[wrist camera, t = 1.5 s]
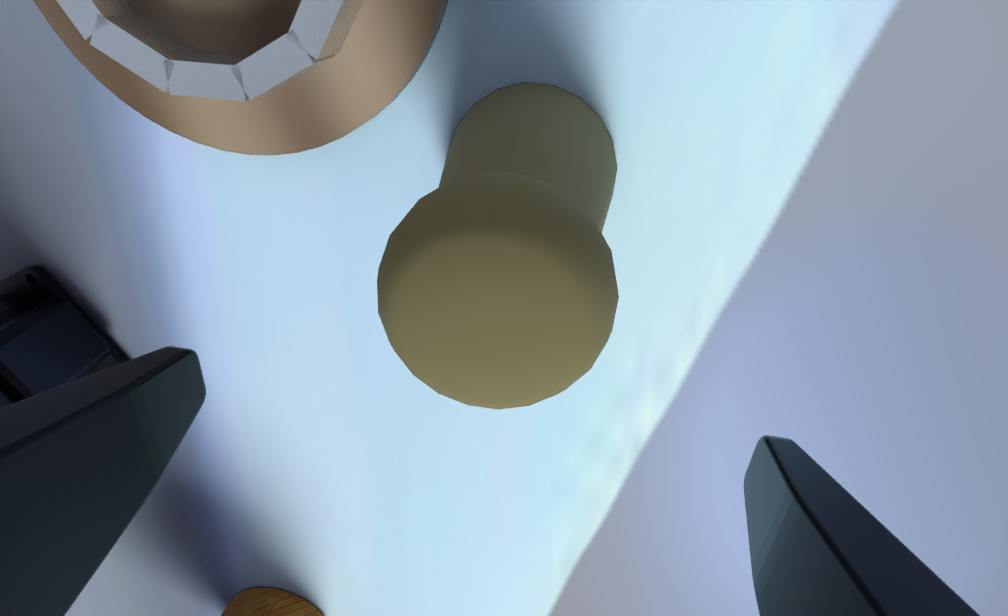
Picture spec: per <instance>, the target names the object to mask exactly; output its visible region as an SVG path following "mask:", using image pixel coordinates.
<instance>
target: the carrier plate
mask: <svg viewBox="0 0 1008 616" xmlns="http://www.w3.org/2000/svg"><path fill="white" fill-rule="evenodd" d="M34 2H35V4H36V5H37V6H38V8H39V9H40V11H41V12H42V14H43V15H44V17H45V18H46V20H47V21H48V23H49V24H50V26H51V27H52V28H53V30H54V31H55V32H56V34H57V35H58V36H59V37H60V39H61V40H62V41H63V42H64V44H65V45H66V46H67V47H68V48H69V50H70V51H71V52H72V53H73V55H74V56H75V57H76V58H77V59H78V60H79V61H80V62H81V63H82V64H83V65H84V66H85V67H86V68H87V69H88V70H89V71H90V72H91V73H92V74H93V75H94V76H95V78H96V79H97V80H98V81H100V82H101V83H102V84H103V85H104V86H105V87H107V88H108V89H109V90H110V91H111V92H112V93H114V94H115V95H116V96H117V97H118V98H120V99H121V100H122V101H123V102H125V103H126V104H128V105H129V106H130V107H132V108H133V109H135V110H136V111H137V112H139V113H140V114H142V115H143V116H145V117H146V118H148V119H149V120H151V121H153V122H155V123H157V124H158V125H160V126H162V127H164V128H166V129H167V130H169V131H171V132H173V133H175V134H178V135H180V136H182V137H185V138H187V139H189V140H192V141H194V142H196V143H200V144H203V145H206V146H210V147H213V148H217V149H220V150H224V151H230V152H236V153H242V154H249V155H280V154H289V153H297V152H301V151H305V150H309V149H313V148H316V147H320V146H323V145H325V144H327V143H330V142H332V141H334V140H337V139H339V138H341V137H344V136H345V135H347V134H348V133H350V132H351V131H353V130H355V129H356V128H358V127H359V126H361V125H363V124H364V123H366V122H367V121H369V120H370V119H372V118H373V117H375V116H376V115H377V114H378V113H380V112H381V111H382V110H383V109H384V108H385V107H386V106H388V105H389V104H390V103H391V102H392V101H393V100H395V98H396V97H397V96H398V95H399V94H400V93H401V91H402V90H403V89H404V88H405V87H406V86H407V84H408V83H409V82H410V81H411V80H412V78H413V77H414V75H415V74H416V72H417V70H418V69H419V67H420V66H421V64H422V63H423V61H424V59H425V58H426V56H427V54H428V52H429V50H430V48H431V45H432V43H433V41H434V39H435V37H436V35H437V32H438V30H439V27H440V24H441V21H442V18H443V15H444V12H445V8H446V5H447V2H448V0H364V1H363V3H362V5H361V7H360V9H359V12H358V14H357V16H356V18H355V20H354V22H353V24H352V27H351V29H350V31H349V33H348V35H347V37H346V39H345V41H344V44H343V46H342V48H341V50H340V52H339V53H336V54H335V56H336V57H334V58H332V59H330V60H329V61H327V62H325V63H324V64H322V65H320V66H318V67H317V68H315V69H313V70H312V71H310V72H308V73H306V74H305V75H303V76H301V77H300V78H298V79H296V80H294V81H293V82H291V83H289V84H288V85H286V86H284V87H282V88H281V89H279V90H277V91H274V92H272V93H269V94H266V95H264V96H261V97H258V98H255V99H253V100H248V101H237V100H226V99H215V98H204V97H193V96H182V95H171V94H170V91H169V92H163V91H162V90H160V89H159V88H157V87H156V86H154V85H153V84H151V83H149V82H148V81H146V80H145V79H143V78H142V77H140V76H139V75H137V74H135V73H134V72H132V71H131V70H129V69H128V68H126V67H124V66H123V65H121V64H120V63H118V62H117V61H115V60H114V59H112V58H110V57H109V56H107V55H106V54H104V53H103V52H101V51H100V50H98V49H96V48H95V47H93V46H92V45H90V41H91V39H86V40H85V39H84V38H83V36H82V35H81V33H80V32H79V31H78V29H77V28H76V27H75V25H74V24H73V23H72V21H71V20H70V18H69V17H68V16H67V14H66V13H65V12H64V10H63V9H62V7H61V6H60V5H59V3H58V2H57V1H56V0H34ZM135 2H136V3H137V5H138V6H139V8H140V9H141V11H142V12H143V14H145V15H146V16H148V17H149V18H151V19H152V20H154V21H155V22H157V23H158V24H160V25H161V26H163V27H164V28H166V29H167V30H169V31H170V32H172V33H173V34H175V35H176V36H178V37H179V38H181V39H182V40H184V41H185V42H187V43H188V44H190V45H191V46H193V47H194V48H196V49H197V50H199V51H200V52H202V53H209V54H220V55H232V56H243V57H249V56H251V55H252V54H254V53H255V52H257V51H259V50H260V49H262V48H264V47H265V46H267V45H268V44H270V43H272V42H273V41H275V40H277V39H278V38H280V37H281V36H283V35H285V34H286V33H288V32H289V29H290V27H291V24H292V22H293V20H294V17H295V15H296V12H297V10H298V8H299V5H300V3H301V0H135Z"/></svg>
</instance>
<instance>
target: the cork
mask: <svg viewBox="0 0 1008 616" xmlns="http://www.w3.org/2000/svg"><path fill="white" fill-rule="evenodd" d="M616 172H617V164H616V157H615V151H614V144H613V140H612V139H611V137H610V135H609V133H608V131H607V129H606V127H605V125H604V123H603V121H602V119H601V117H600V116H599V115H598V114H597V113H596V112H595V111H594V110H593V109H592V108H590V107H589V106H588V105H587V104H586V103H585V102H584V101H583V100H582V99H581V98H580V97H578V96H576V95H574V94H572V93H569V92H567V91H565V90H563V89H561V88H559V87H556V86H554V85H546V84H536V83H526V82H525V83H521V84H517V85H513V86H508V87H504V88H500V89H497V90H495V91H494V92H492V93H491V94H489V95H488V96H486V97H484V98H483V99H481V100H480V101H478V102H477V103H475V104H474V105H473V106H472V108H471V109H470V110H469V111H468V113H467V114H466V115H465V116H464V118H463V119H462V120H461V121H460V123H459V124H458V125H457V128H456V130H455V133H454V136H453V139H452V142H451V144H450V147H449V150H448V153H447V157H446V161H445V165H444V169H443V173H442V177H441V180H440V184H439V188H437V189H436V190H434V191H432V192H431V193H429V194H427V195H426V196H424V197H422V198H421V199H419V200H418V202H417V203H416V204H415V205H414V207H413V208H412V209H411V210H410V211H409V213H408V214H407V215H406V216H405V217H404V219H403V220H402V221H401V222H400V224H399V225H398V226H397V227H396V228H395V230H394V231H393V232H392V233H391V235H390V236H389V239H388V242H387V245H386V248H385V251H384V254H383V257H382V260H381V263H380V266H379V271H378V278H377V289H378V313H379V316H380V318H381V321H382V324H383V326H384V329H385V331H386V334H387V337H388V339H389V342H390V344H391V346H392V347H393V349H394V351H395V352H396V353H397V355H398V356H399V357H400V358H401V360H402V361H403V362H404V363H405V365H406V366H407V367H408V369H409V370H410V371H411V372H412V374H413V375H414V376H416V377H417V378H418V379H420V380H421V381H422V382H424V383H425V384H426V385H428V386H429V387H431V388H432V389H433V390H435V391H436V392H437V393H439V394H441V395H444V396H446V397H449V398H451V399H454V400H456V401H459V402H461V403H464V404H466V405H471V406H478V407H486V408H493V409H505V408H514V407H522V406H530V405H532V404H534V403H537V402H539V401H542V400H544V399H547V398H549V397H552V396H554V395H557V394H558V393H560V392H562V391H564V390H566V389H567V388H568V387H569V386H571V385H572V384H573V383H574V382H575V381H577V380H578V379H579V378H580V377H582V376H583V375H584V374H585V373H586V372H588V371H589V370H590V369H591V367H592V366H593V364H594V363H595V361H596V359H597V358H598V356H599V354H600V353H601V351H602V350H603V348H604V346H605V345H606V343H607V341H608V339H609V336H610V334H611V332H612V328H613V323H614V318H615V313H616V308H617V303H618V298H619V296H618V289H617V282H616V276H615V270H614V264H613V258H612V252H611V249H610V248H609V246H608V244H607V242H606V241H605V239H604V237H603V235H602V230H603V226H604V223H605V219H606V216H607V212H608V209H609V205H610V202H611V199H612V195H613V190H614V184H615V178H616Z"/></svg>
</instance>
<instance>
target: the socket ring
mask: <svg viewBox="0 0 1008 616" xmlns="http://www.w3.org/2000/svg"><path fill="white" fill-rule="evenodd" d="M56 1H57V2H58V3H59V5H60V6H61V7H62V9H63V10H64V12H65V13H66V14H67V16H68V17H69V18H70V20H71V21H72V23H73V24H74V25H75V27H76V28H77V29H78V31H79V32H80V33H81V35H82V36H83V38H84V39H85V40H86V39H91V41H90V45H92V46H93V47H95V48H96V49H98V50H100V51H101V52H103V53H104V54H106V55H107V56H109V57H110V58H112V59H114V60H115V61H117V62H118V63H120V64H121V65H123V66H124V67H126V68H128V69H129V70H131V71H132V72H134V73H135V74H137V75H139V76H140V77H142V78H143V79H145V80H146V81H148V82H149V83H151V84H153V85H154V86H156V87H157V88H159V89H160V90H162V91H163V92H169V91H170V94H171V95H182V96H193V97H204V98H215V99H226V100H237V101H248V100H253V99H255V98H258V97H261V96H264V95H266V94H269V93H272V92H274V91H277V90H279V89H281V88H282V87H284V86H286V85H288V84H289V83H291V82H293V81H294V80H296V79H298V78H300V77H301V76H303V75H305V74H306V73H308V72H310V71H312V70H313V69H315V68H317V67H318V66H320V65H322V64H324V63H325V62H327V61H329V60H330V59H332V58H334V57H336V56H335V54H336V53H339V52H340V50H341V48H342V46H343V44H344V41H345V39H346V37H347V35H348V33H349V31H350V29H351V27H352V24H353V22H354V20H355V18H356V16H357V14H358V12H359V9H360V7H361V5H362V3H363V1H364V0H301V3H300V5H299V8H298V10H297V12H296V15H295V17H294V20H293V22H292V24H291V27H290V29H289V32H288V33H286V34H285V35H283V36H281V37H280V38H278V39H277V40H275V41H273V42H272V43H270V44H268V45H267V46H265V47H264V48H262V49H260V50H259V51H257V52H255V53H254V54H252V55H251V56H249V57H243V56H232V55H220V54H209V53H202V52H200V51H199V50H197V49H196V48H194V47H193V46H191V45H190V44H188V43H187V42H185V41H184V40H182V39H181V38H179V37H178V36H176V35H175V34H173V33H172V32H170V31H169V30H167V29H166V28H164V27H163V26H161V25H160V24H158V23H157V22H155V21H154V20H152V19H151V18H149V17H148V16H146V15H145V14H143V12H142V11H141V9H140V8H139V6H138V5H137V3H136V2H135V0H56Z"/></svg>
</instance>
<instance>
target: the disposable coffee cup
mask: <svg viewBox="0 0 1008 616" xmlns="http://www.w3.org/2000/svg"><path fill="white" fill-rule="evenodd" d="M221 616H323V614H322V613H321V612H320V611H319V610H318V609H317V608H316V607H314V606H313V605H312V604H311V603H309V602H307V601H306V600H304V599H302V598H301V597H299V596H296V595H294V594H291V593H289V592H286V591H283V590H278V589H273V588H251V589H247V590H244V591H242V592H240V593H238V594H237V595H236V596H235V597H234V598H233V599H232V601H231V602H230V604H229V605H228V607H227V608H226V609H225V611H224V612H223V613H222V615H221Z"/></svg>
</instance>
